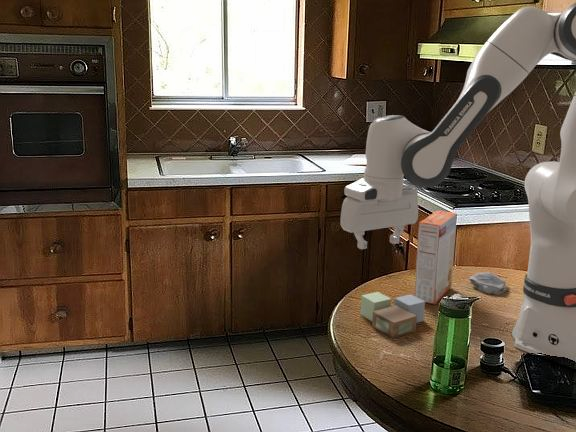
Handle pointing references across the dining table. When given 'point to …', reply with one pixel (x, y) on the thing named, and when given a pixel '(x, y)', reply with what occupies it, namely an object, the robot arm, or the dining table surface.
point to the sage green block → (373, 304)
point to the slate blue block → (411, 305)
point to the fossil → (488, 283)
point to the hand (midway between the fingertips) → (378, 245)
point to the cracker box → (435, 256)
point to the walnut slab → (394, 321)
